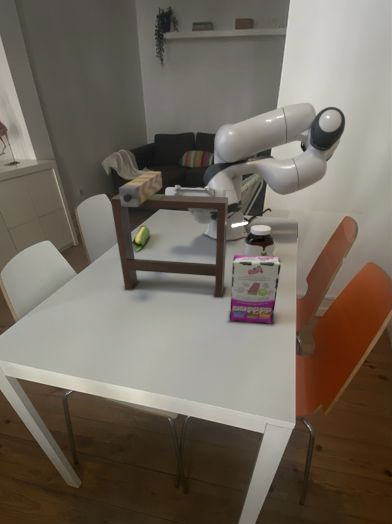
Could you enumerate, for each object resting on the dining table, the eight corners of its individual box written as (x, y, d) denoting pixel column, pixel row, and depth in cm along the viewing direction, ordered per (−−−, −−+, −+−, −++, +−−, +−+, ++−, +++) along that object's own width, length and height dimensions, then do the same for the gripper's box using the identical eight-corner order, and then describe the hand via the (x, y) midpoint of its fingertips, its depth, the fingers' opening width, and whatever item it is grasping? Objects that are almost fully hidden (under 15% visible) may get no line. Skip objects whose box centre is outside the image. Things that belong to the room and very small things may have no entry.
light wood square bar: (149, 186, 92) (147, 171, 90) (162, 187, 92) (161, 171, 89) (119, 207, 75) (116, 188, 72) (135, 208, 74) (133, 189, 72)
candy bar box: (271, 314, 86) (280, 255, 76) (272, 324, 82) (282, 264, 72) (229, 311, 87) (233, 253, 77) (228, 321, 83) (232, 261, 73)
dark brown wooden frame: (131, 280, 103) (118, 192, 87) (223, 287, 98) (228, 196, 82) (125, 289, 98) (110, 198, 82) (221, 297, 94) (225, 202, 78)
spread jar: (244, 265, 112) (247, 231, 104) (240, 253, 121) (242, 221, 113) (278, 264, 112) (284, 231, 105) (271, 252, 121) (276, 221, 114)
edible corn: (151, 235, 138) (150, 224, 135) (143, 252, 122) (142, 240, 120) (139, 234, 138) (138, 224, 136) (130, 252, 123) (128, 240, 120)
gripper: (170, 191, 113) (160, 176, 100) (228, 193, 110) (225, 178, 97) (169, 210, 114) (158, 197, 101) (226, 213, 111) (223, 200, 98)
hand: (191, 188), depth 99 cm, fingers open, 8 cm apart
